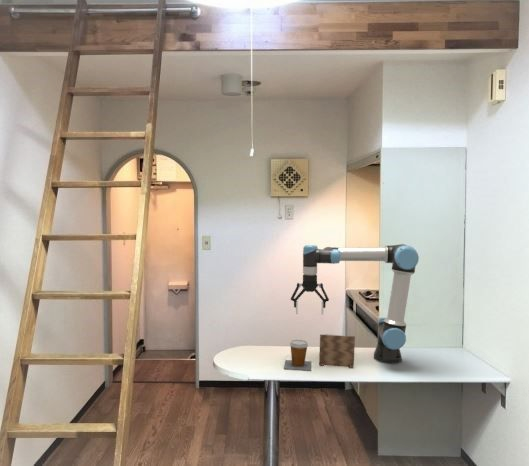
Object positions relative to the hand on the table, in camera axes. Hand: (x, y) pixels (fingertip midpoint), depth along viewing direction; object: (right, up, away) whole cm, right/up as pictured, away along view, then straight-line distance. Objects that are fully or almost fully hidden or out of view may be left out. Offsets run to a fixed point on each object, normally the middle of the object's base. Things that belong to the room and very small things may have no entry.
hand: (309, 313), depth 260 cm
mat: (-7, -26, -6) cm, 28 cm away
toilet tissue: (+13, -26, +17) cm, 34 cm away
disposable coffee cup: (-6, -26, -6) cm, 27 cm away
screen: (+14, -27, -4) cm, 30 cm away
